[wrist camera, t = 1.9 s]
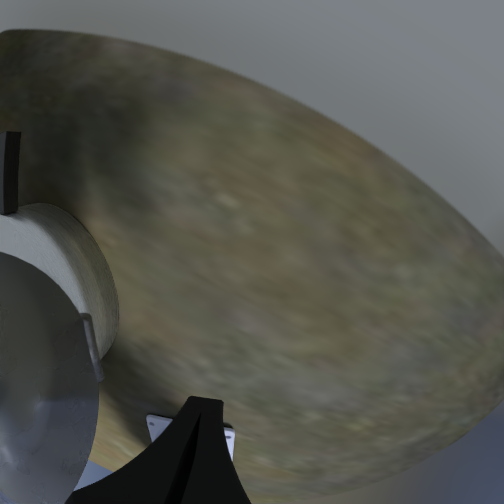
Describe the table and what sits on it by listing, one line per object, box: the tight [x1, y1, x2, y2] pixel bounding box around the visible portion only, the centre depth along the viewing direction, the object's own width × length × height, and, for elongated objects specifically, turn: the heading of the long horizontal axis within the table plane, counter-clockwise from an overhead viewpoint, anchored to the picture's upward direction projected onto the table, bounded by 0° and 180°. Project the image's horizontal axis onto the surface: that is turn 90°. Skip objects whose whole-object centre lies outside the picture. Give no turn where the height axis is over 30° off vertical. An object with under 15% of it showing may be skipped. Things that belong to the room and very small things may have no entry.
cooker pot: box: [0, 131, 119, 360], centre depth 15 cm, size 19×14×6 cm
